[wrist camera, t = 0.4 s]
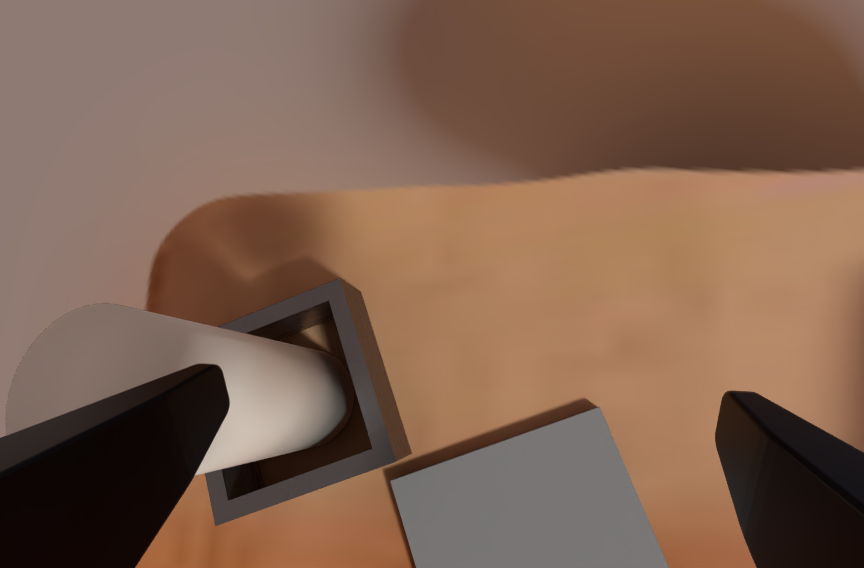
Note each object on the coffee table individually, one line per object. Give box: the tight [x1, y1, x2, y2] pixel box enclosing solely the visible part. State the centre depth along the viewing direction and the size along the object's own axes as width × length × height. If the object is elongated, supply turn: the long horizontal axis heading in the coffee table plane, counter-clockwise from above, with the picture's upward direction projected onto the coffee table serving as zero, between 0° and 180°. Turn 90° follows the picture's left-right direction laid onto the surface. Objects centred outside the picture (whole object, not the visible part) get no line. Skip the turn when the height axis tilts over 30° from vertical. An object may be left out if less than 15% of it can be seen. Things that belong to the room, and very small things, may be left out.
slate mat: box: [390, 407, 669, 568], centre depth 21 cm, size 10×10×1 cm
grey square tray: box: [205, 278, 412, 526], centre depth 23 cm, size 8×8×3 cm
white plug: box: [6, 303, 354, 475], centre depth 18 cm, size 5×5×13 cm
